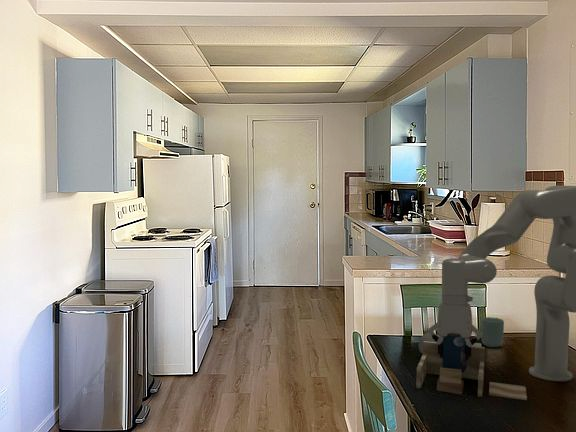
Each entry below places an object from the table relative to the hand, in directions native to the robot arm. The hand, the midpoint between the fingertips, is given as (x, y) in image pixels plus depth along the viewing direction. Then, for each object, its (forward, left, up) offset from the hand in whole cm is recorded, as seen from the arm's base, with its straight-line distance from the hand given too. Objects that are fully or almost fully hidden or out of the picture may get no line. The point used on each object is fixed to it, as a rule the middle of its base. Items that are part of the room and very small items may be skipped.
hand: (454, 357), depth 177 cm
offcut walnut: (+8, 0, -8) cm, 11 cm away
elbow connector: (-19, -3, -8) cm, 21 cm away
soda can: (0, 0, -5) cm, 5 cm away
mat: (+3, +15, -8) cm, 17 cm away
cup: (-46, +10, -8) cm, 48 cm away
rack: (+2, -1, -8) cm, 8 cm away
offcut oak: (+8, 0, -5) cm, 9 cm away
